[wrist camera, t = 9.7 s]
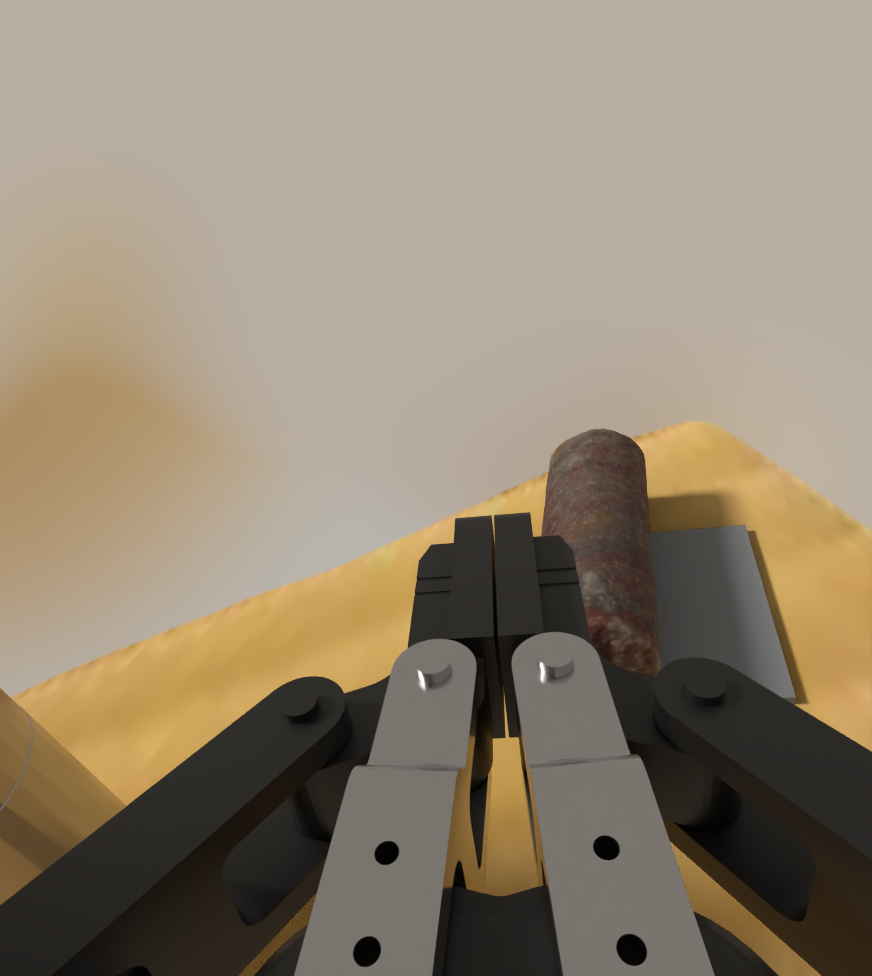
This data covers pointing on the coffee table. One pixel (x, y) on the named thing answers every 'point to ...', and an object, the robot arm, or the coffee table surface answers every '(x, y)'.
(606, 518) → the reddish brown cylinder
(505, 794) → the coffee table surface
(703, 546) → the mat
